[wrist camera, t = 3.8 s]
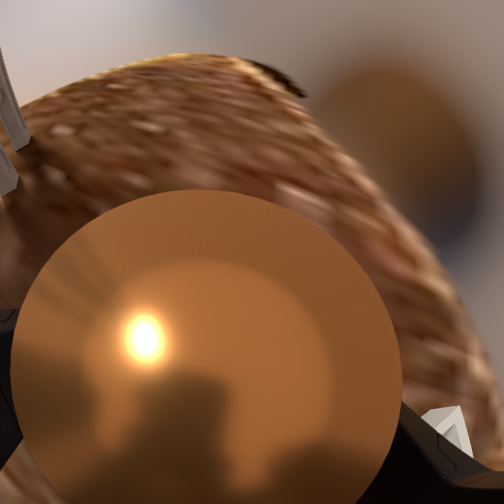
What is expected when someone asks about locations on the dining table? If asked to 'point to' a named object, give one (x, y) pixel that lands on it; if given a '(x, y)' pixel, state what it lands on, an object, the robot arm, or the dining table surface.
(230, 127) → the dining table surface
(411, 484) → the robot arm
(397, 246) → the dining table surface
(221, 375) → the pin
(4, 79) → the stool
